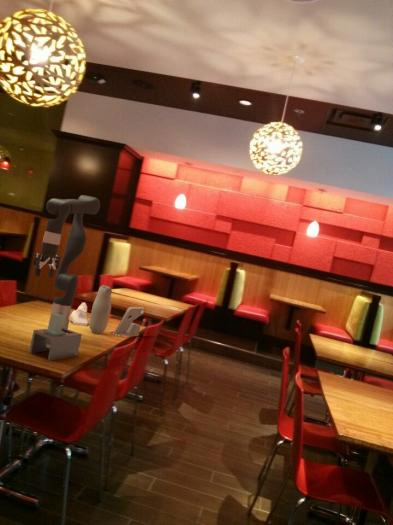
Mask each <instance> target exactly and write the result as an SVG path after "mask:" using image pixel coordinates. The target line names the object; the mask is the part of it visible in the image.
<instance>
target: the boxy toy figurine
mask: <svg viewBox="0 0 393 525" xmlns="http://www.w3.org/2000/svg"><path fill="white" fill-rule="evenodd" d="M50 316H51V317H49V320H50V321H48V325H49V326H48V325H47V328H43V329H44V332H47V333H50V334H53V335H60V334H64V332H63V331H61V329H62V324H63V319H64V316H63V315H60V314H51V313H50ZM51 342H52V340H51V339H50V342H47V343H46V347H47V348H50V346H51Z"/></svg>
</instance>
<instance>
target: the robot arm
mask: <svg viewBox="0 0 393 525" xmlns="http://www.w3.org/2000/svg"><path fill="white" fill-rule="evenodd" d="M45 205H46V206H45V208H46V211H47V212H48V213H49V214H51V215H56V216H57V217H56V218H53V219H52V218H51V219H48V220H47V222H46V226H45V231H44V235H43V239H42V242H41V248H40V251H41V253H38V252H36V253H35V254H34V259H33V262H32V267H34V268H35V271H34V277H38V278H39V277H40V276H41V271H42V268H43V266H45V265H49V271H48V278H53V277H54V275H55V277H54V282H53V286H54V288H55V289H56V290H59V291H62V292H65V293H64V294H63V295H61V296H55V297H54V298H53V302H52V307H51V312H50V317H51V314H60V315H63V316H64V319H63V324H62V328H65V329H68V330H69V325H70V315H71V310H72V306H73V301H74V299H75V295H76V291H77V287H78V283H79V278H78V276H77V275H75V274H72V273H68V270H69V268H70V266H71V264H73V262H74V261H75V260H76V259H77V258H79V257H80V256H81V255H82V253H83V252H84V249H85V246H86V244H87V234H86V230H85V227H84V223H83V222H84V221H83V218H84V214H87V215H97V214H98V212H99V211H100V208H101V202H100V200H99V198H97V197H95V196H89V195H84V194H81V195H80V196H79V197H78V198H77V199H75V198H67V199H62V198H50V199H49V200H48V201H47V202H46V204H45ZM73 214H74V216H73V218H72V219H73V220H72V224H71V227H70V231H69V234H68V238H67V240H66V243H65V249H64V251H63V255H62V259H61V256H59V255H57V254H58V253H59V247H60V244H61V237H62V232H63V227H64V225H65V223H66V220H67V218H68V217H69V215H73ZM56 270H57V271H56ZM55 271H56V274H55ZM50 317H49V318H50ZM49 321H50V319H49ZM49 321H48V322H49ZM48 326H49V324H48V325H47V327H48ZM64 334H68V333H65V332H64Z"/></svg>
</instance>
